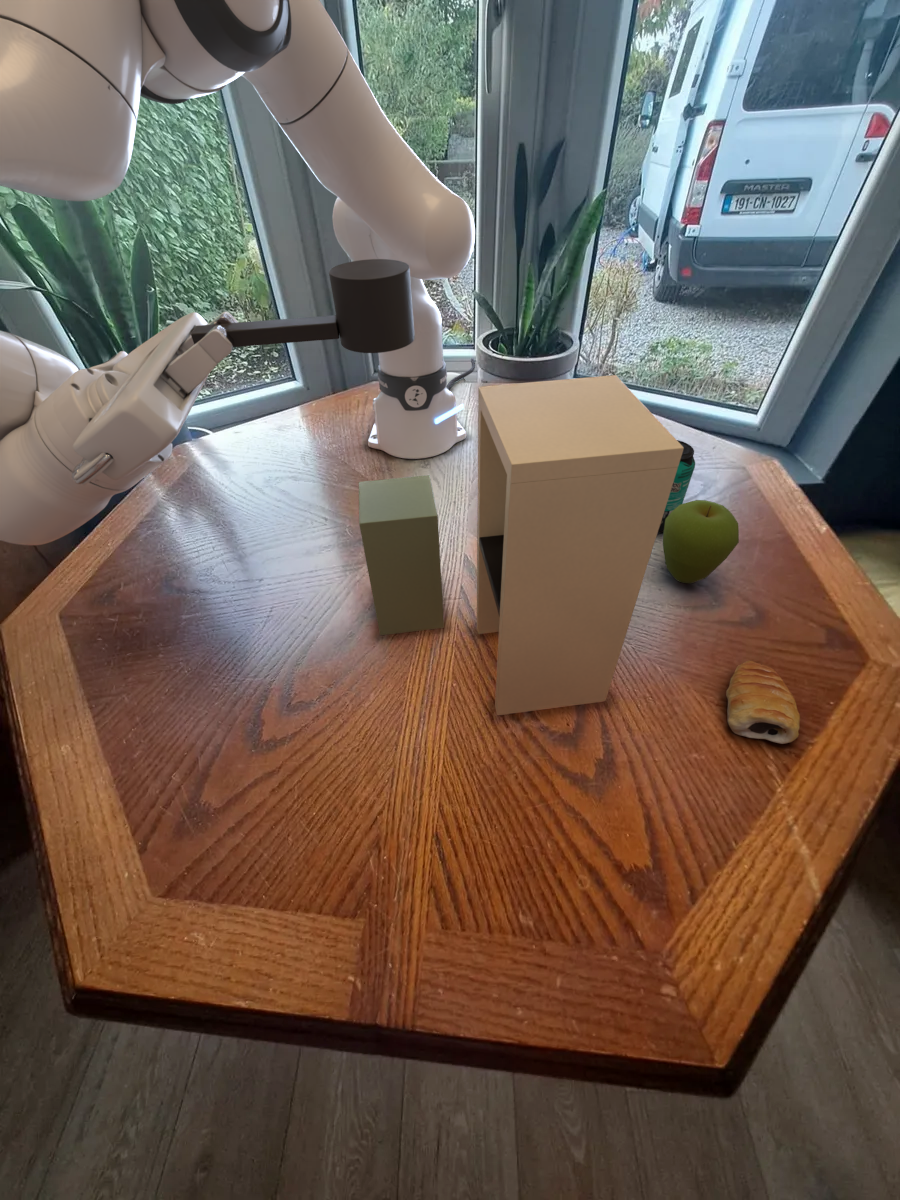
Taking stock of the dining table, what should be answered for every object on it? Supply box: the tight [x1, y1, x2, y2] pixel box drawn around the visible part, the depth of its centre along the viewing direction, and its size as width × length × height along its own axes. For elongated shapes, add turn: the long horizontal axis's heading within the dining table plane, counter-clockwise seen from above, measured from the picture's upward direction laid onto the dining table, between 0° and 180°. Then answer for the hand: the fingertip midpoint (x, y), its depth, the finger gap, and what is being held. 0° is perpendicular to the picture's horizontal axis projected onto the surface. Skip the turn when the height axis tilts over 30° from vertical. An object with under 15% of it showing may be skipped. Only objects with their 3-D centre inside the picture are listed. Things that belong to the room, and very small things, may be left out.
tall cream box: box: [476, 374, 684, 716], centre depth 50 cm, size 13×12×30 cm
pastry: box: [725, 660, 801, 745], centre depth 54 cm, size 9×7×4 cm
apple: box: [662, 499, 740, 584], centre depth 66 cm, size 9×8×12 cm
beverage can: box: [658, 439, 696, 533], centre depth 75 cm, size 7×7×12 cm
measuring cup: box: [191, 259, 415, 354], centre depth 40 cm, size 6×17×5 cm, turn 98°
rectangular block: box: [358, 474, 445, 636], centre depth 61 cm, size 8×8×17 cm
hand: (230, 328), depth 40 cm, fingers closed on measuring cup
